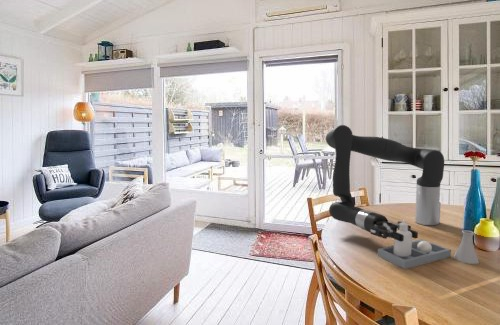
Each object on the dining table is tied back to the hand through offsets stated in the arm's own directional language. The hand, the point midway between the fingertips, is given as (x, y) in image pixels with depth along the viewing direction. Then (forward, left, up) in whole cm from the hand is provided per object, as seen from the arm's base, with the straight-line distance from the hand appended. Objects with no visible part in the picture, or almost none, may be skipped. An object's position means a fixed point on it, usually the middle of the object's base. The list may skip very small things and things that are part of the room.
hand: (409, 236), depth 100 cm
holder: (-5, -2, -9) cm, 11 cm away
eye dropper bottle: (0, -3, -7) cm, 8 cm away
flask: (-18, +7, -9) cm, 21 cm away
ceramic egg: (-10, -2, -8) cm, 13 cm away
